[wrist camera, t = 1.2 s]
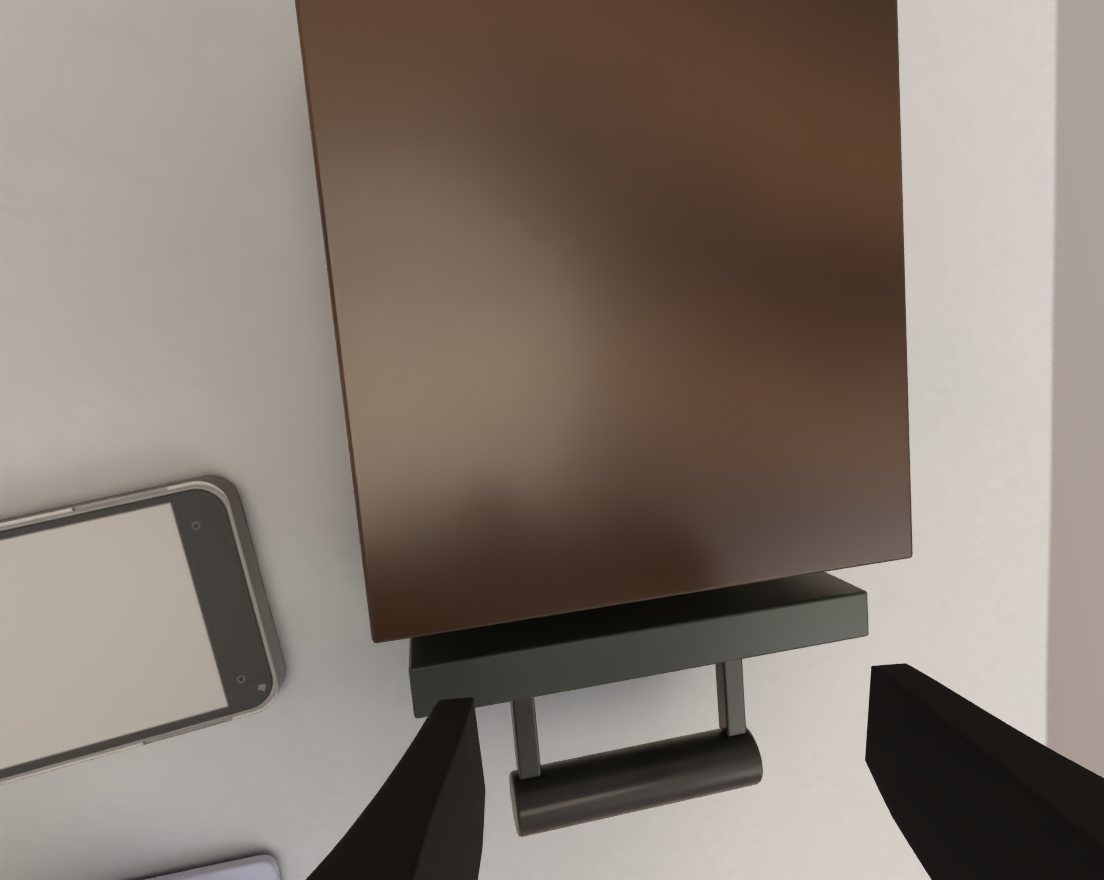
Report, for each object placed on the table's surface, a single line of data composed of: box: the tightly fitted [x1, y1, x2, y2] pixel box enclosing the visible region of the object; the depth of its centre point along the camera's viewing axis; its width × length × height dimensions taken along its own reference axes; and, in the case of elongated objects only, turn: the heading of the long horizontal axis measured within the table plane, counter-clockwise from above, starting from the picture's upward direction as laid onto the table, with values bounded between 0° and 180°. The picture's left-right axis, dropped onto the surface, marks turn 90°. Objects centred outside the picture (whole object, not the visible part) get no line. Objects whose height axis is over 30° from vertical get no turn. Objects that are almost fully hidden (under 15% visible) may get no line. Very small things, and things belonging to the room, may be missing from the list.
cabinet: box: [295, 0, 912, 643], centre depth 18 cm, size 15×13×9 cm
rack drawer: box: [409, 572, 868, 837], centre depth 18 cm, size 18×11×7 cm, turn 5°
